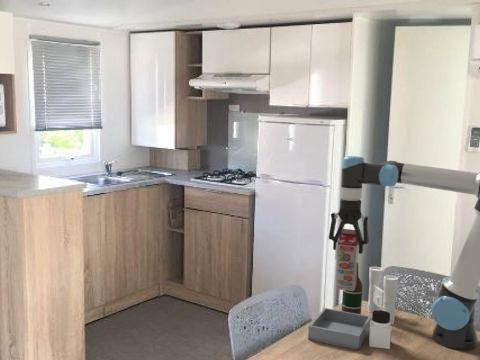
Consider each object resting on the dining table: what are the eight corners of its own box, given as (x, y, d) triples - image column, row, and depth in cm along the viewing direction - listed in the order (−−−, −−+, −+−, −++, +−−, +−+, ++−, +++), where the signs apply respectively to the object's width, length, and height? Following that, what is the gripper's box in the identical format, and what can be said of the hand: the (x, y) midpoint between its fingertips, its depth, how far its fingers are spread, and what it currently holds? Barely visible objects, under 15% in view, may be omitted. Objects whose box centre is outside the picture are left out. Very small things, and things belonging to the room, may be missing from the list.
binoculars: (364, 308, 227) (367, 266, 224) (376, 308, 228) (379, 266, 226) (385, 325, 210) (388, 280, 208) (397, 324, 212) (401, 279, 209)
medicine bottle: (390, 349, 189) (392, 316, 187) (369, 347, 190) (371, 314, 189) (388, 340, 196) (391, 308, 194) (368, 338, 197) (370, 306, 196)
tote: (370, 329, 206) (371, 316, 205) (358, 349, 188) (359, 336, 187) (323, 320, 213) (324, 307, 213) (308, 339, 195) (308, 325, 195)
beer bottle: (362, 320, 214) (366, 261, 211) (343, 319, 215) (346, 260, 211) (358, 312, 222) (362, 255, 219) (339, 312, 222) (342, 254, 219)
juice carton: (338, 283, 207) (341, 226, 204) (356, 285, 205) (359, 228, 202) (335, 288, 201) (338, 230, 198) (353, 291, 199) (357, 232, 196)
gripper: (380, 200, 197) (376, 261, 200) (327, 194, 205) (323, 254, 208) (376, 203, 190) (372, 266, 194) (321, 197, 199) (318, 258, 202)
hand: (347, 260), depth 201 cm, fingers closed on juice carton, 7 cm apart
